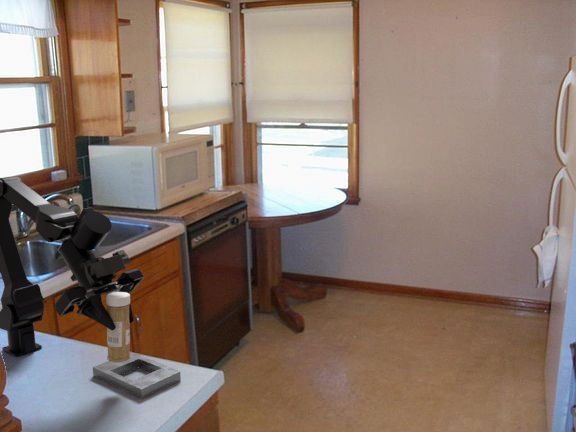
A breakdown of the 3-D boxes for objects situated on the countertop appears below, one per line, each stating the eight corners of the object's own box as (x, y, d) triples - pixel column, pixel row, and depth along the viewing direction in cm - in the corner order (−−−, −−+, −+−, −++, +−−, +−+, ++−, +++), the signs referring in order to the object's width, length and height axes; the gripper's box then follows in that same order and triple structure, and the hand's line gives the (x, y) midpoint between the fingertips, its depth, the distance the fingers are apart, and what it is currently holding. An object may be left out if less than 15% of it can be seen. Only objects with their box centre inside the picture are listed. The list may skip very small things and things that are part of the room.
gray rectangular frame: (93, 376, 127) (92, 367, 127) (131, 360, 135) (131, 351, 135) (141, 398, 118) (141, 389, 117) (180, 380, 126) (180, 371, 125)
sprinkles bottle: (135, 358, 122) (134, 294, 120) (116, 365, 118) (116, 298, 116) (120, 353, 125) (120, 289, 123) (101, 359, 121) (101, 294, 119)
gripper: (60, 249, 112) (104, 318, 108) (136, 231, 127) (176, 291, 123) (37, 282, 117) (77, 349, 114) (112, 261, 133) (150, 319, 129)
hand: (123, 325), depth 120 cm, fingers closed on sprinkles bottle, 4 cm apart
